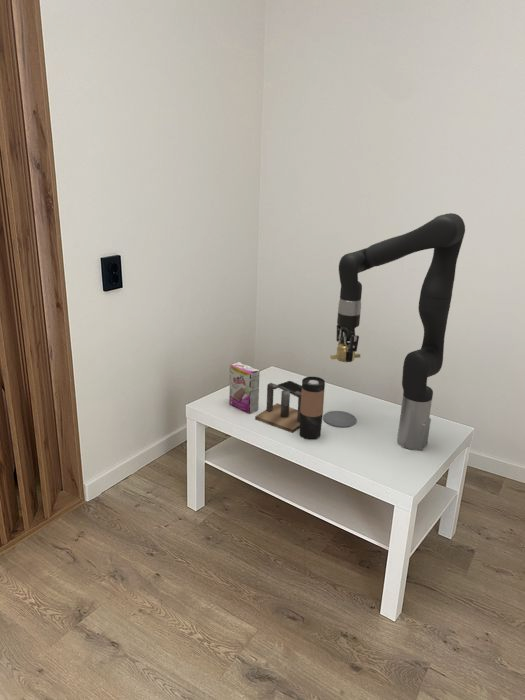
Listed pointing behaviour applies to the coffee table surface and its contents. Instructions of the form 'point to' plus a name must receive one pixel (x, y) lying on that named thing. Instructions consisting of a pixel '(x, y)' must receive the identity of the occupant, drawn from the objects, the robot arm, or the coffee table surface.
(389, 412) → the coffee table surface
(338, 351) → the brass pipe fitting
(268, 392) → the stand
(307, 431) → the travel mug
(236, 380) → the candy bar box
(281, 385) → the phone
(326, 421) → the coaster
